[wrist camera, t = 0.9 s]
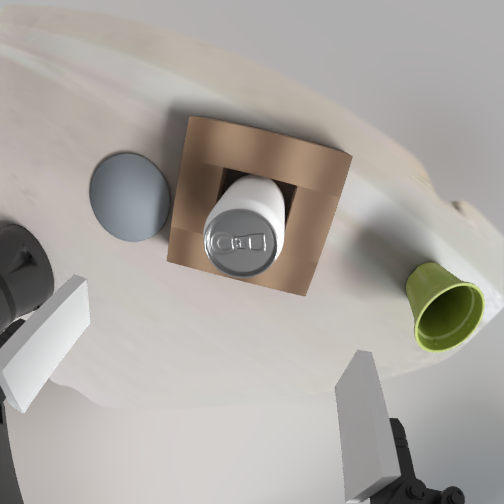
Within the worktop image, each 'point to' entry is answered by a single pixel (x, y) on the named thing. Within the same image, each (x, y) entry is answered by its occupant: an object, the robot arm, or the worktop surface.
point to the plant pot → (442, 307)
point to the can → (246, 227)
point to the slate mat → (130, 197)
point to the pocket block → (267, 165)
